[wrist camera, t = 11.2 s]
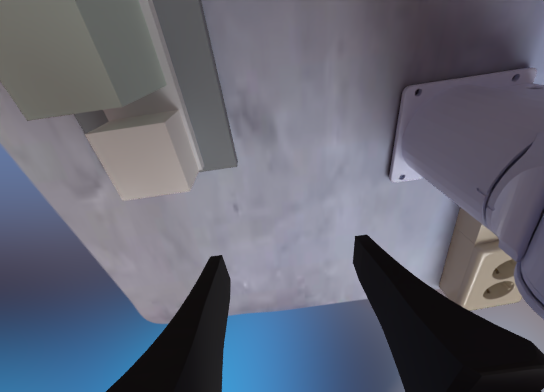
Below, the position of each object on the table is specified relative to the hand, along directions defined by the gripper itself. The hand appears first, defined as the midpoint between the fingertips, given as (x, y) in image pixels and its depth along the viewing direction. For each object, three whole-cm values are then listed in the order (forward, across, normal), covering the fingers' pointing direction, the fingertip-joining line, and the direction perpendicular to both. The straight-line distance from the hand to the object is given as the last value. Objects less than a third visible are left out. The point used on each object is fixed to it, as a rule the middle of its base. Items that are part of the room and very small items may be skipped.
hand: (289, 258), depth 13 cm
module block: (+8, +8, -11) cm, 16 cm away
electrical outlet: (+10, -22, +11) cm, 26 cm away
